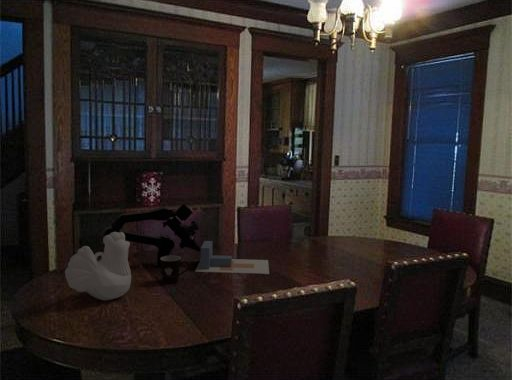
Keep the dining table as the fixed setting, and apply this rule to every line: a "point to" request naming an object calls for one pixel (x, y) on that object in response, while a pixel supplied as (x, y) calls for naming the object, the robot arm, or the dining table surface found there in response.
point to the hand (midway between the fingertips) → (200, 250)
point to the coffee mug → (171, 268)
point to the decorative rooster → (101, 269)
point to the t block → (213, 257)
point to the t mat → (240, 267)
